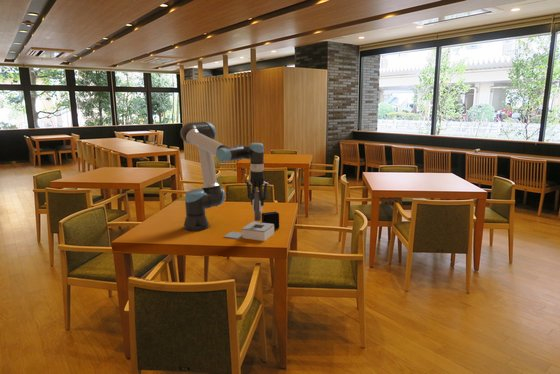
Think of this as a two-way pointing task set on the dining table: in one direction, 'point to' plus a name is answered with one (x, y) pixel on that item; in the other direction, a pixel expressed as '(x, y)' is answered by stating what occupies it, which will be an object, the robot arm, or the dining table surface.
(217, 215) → the dining table surface
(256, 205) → the stylus
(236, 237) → the pad
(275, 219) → the electronic device
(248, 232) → the box
